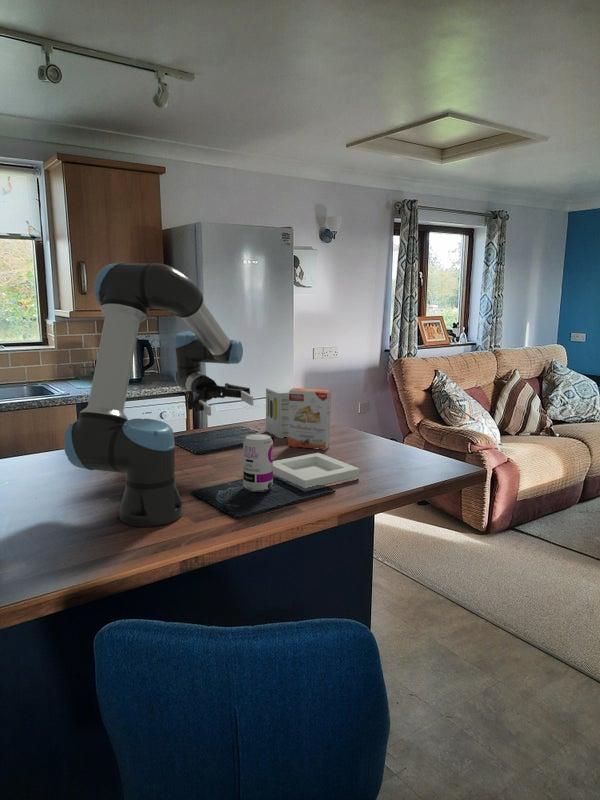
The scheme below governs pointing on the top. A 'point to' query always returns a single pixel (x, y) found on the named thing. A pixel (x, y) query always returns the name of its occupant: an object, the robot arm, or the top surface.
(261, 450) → the supplement can
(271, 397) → the supplement box
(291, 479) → the tray
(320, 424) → the cracker box
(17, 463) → the top surface
